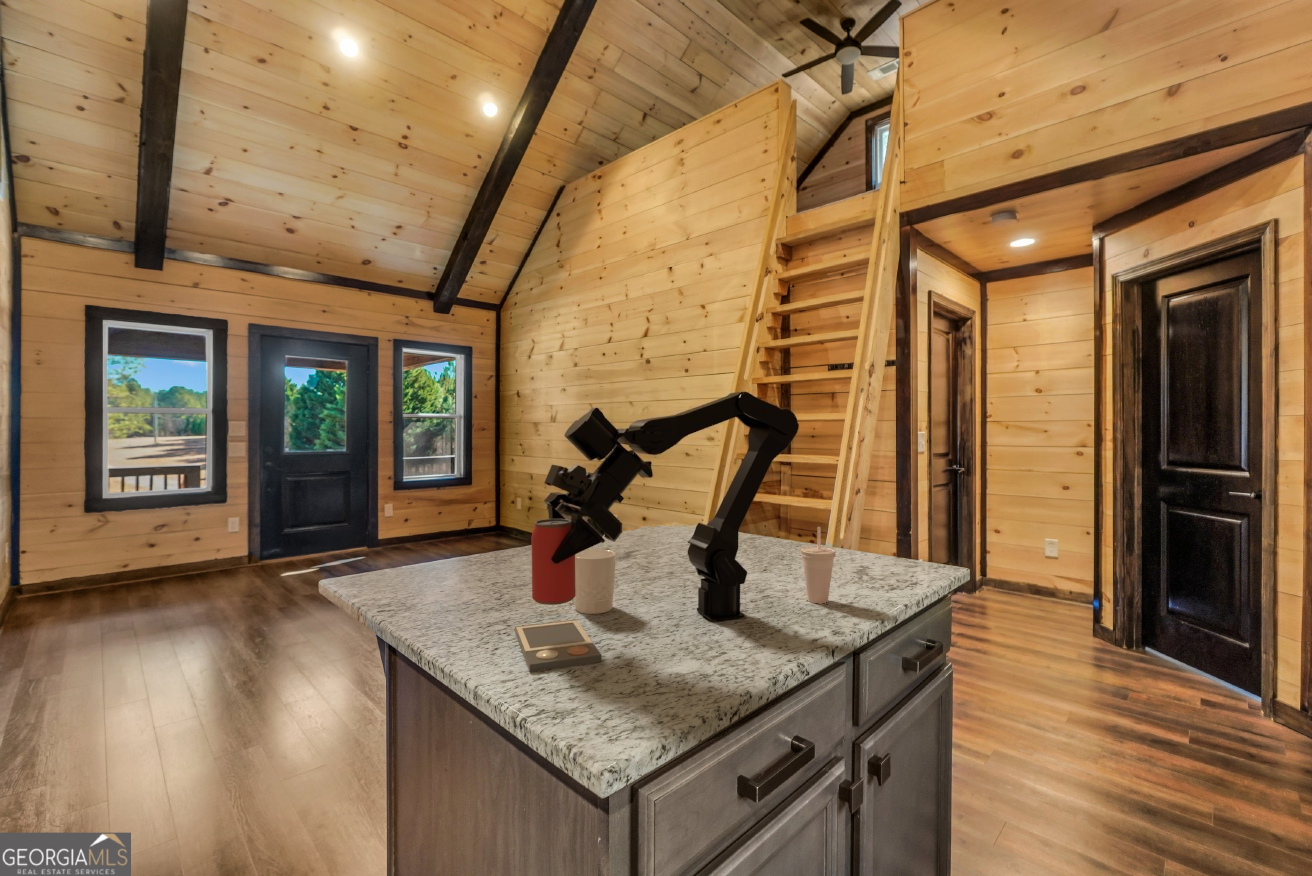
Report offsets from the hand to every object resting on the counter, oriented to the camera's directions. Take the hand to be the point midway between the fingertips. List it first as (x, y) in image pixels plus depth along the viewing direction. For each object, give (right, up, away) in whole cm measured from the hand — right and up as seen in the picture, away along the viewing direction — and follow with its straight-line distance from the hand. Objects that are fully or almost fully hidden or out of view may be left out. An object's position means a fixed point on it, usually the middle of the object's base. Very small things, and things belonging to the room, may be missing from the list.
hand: (545, 557), depth 90 cm
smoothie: (+48, -13, +22) cm, 54 cm away
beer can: (+1, -7, +1) cm, 7 cm away
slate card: (+2, -13, -1) cm, 13 cm away
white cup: (+6, -13, +18) cm, 23 cm away
